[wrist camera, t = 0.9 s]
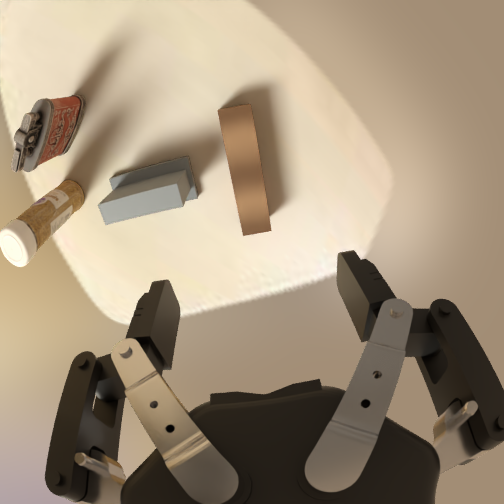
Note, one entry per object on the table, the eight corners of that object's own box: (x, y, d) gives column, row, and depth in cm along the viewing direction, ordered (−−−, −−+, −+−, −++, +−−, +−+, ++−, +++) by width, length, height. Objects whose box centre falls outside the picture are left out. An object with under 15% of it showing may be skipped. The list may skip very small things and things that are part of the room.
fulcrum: (111, 177, 29) (90, 194, 24) (188, 155, 28) (178, 169, 23) (124, 213, 31) (106, 236, 26) (198, 196, 31) (191, 217, 26)
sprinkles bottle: (75, 173, 28) (10, 220, 16) (90, 203, 30) (34, 261, 19) (53, 188, 28) (-8, 238, 17) (68, 216, 31) (14, 273, 19)
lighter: (71, 91, 22) (19, 97, 14) (91, 99, 23) (40, 107, 15) (50, 148, 25) (1, 173, 17) (68, 158, 27) (20, 185, 18)
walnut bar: (219, 109, 26) (217, 110, 23) (248, 103, 26) (250, 104, 23) (242, 221, 34) (243, 235, 31) (267, 217, 34) (271, 230, 31)
